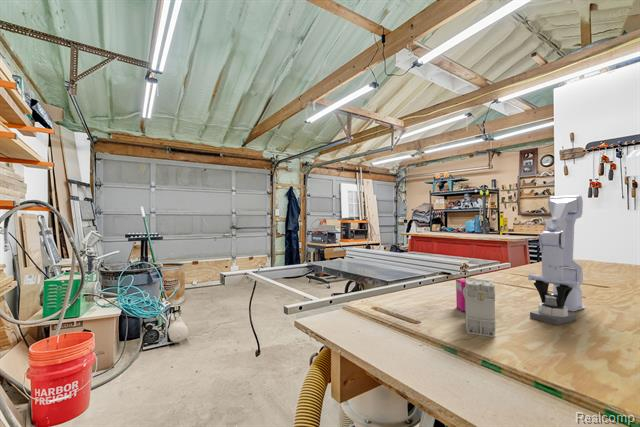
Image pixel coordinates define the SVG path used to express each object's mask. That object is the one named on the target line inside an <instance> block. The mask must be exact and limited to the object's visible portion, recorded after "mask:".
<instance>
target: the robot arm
mask: <svg viewBox="0 0 640 427" xmlns="http://www.w3.org/2000/svg"><path fill="white" fill-rule="evenodd" d="M583 203H584V201H583V197H582V195H580V194H577V195H558V196H557V195H555V196H553V195H552V196H549V197H548V200H547V206H548V210H549V212H550V214H551V216H552V217H550V218H548V219H547V221H546V224H545V226H544V229H543V231H542V232H540V233H539V235H538V236H539V238H538V242H539V248H540V249H539V250H540V252H541V275H540V274H532V273H531V274H527V275H528V277H527V278H528V281H535V282H533V286H534V287H535V288H536V290H537V292H538V294H539V297H540V301H541V303H545V297H544V294H545V293H546V292H548V291H549V285H553V292H552V293H557V294H558V306H559V307H564V306H565V307H567V308H568V312H569V311H570V312H575V311H576V312H577V311H580V310H584V309H585V308H586V306H583V293H582V289H581V286H582V285H583V282H584V274H583V266H582V265H581V264H580V263H578V262H576V261H575V260H574V245H575V244H574V243H575V242H574V240H575V224H576V222H577V219H580V218H582V217H583V216H582V215H583V207H584V206H583V205H584V204H583Z"/></svg>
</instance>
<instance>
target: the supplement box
mask: <svg viewBox="0 0 640 427" xmlns="http://www.w3.org/2000/svg"><path fill="white" fill-rule="evenodd" d="M465 279H466V278H456V279H455V284H456V285H455V289H456V290H455V293H456V294H455V295H456V308H457V310H459V311H460V312H461V313H466V312H465Z"/></svg>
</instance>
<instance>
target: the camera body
mask: <svg viewBox="0 0 640 427" xmlns="http://www.w3.org/2000/svg"><path fill="white" fill-rule="evenodd" d="M529 318H530V319H532V320H537V321H539V320H540V321H539V322H543V321H544V322H543V323H546V322H548V323H547V324H550V323H551V324H550V325H553V324H554V325H553V326H556V325H557V326H560V324H561V325H564V324H567V322H568V323H571V322H574V320H575V321H577V314H576V313H572V312H569V310H568V308H567V307H565V306H564V307H561V309H557V308H550V307H546V306H545V303H542V302H539V303H538V309H536V310H534V311H530V312H529ZM570 321H571V322H570ZM563 323H564V324H563Z"/></svg>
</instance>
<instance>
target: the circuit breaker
mask: <svg viewBox="0 0 640 427" xmlns="http://www.w3.org/2000/svg"><path fill="white" fill-rule="evenodd" d="M464 279H465V312H464V313H465V328H466V329H465V330H466V334H471V335H477V336H483V337H492V338H496V335H495V334H496V291H495V288H496V286H495V284H494V282H493V281H492V280H487V279H486V280H484V279H483V280H482V279H474V278H473V279H472V278H464Z"/></svg>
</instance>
